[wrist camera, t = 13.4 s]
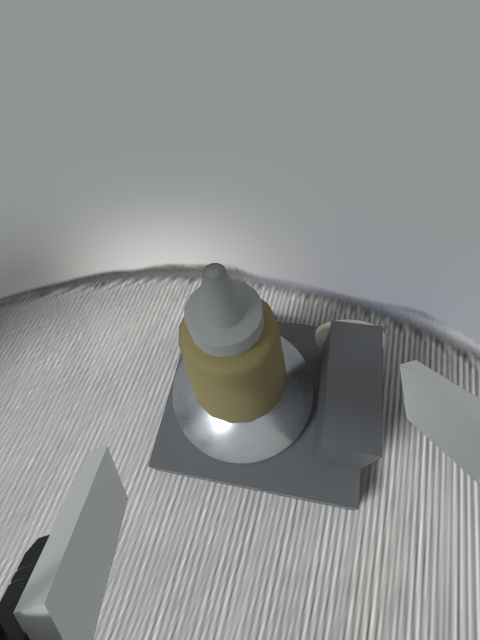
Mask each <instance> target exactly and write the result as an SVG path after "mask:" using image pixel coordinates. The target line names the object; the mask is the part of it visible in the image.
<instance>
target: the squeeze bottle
mask: <svg viewBox="0 0 480 640" xmlns="http://www.w3.org/2000/svg"><path fill="white" fill-rule="evenodd" d="M179 346H180V350H181V353H182V357H183V360H184V364H185V367H186V370H187V374H188V377H189V381H190V384H191V387H192V390H193V392H194V395H195V397H196V400H197V402H198V404H199V405H200V406H201V407H202V408H203V409H204V410H205V411H206V412H207V413H208V414H210V415H211V416H212V417H214V418H217V419H219V420H222V421H225V422H228V423H246V422H252V421H254V420H256V419H258V418H260V417H262V416H264V415H266V414H268V413H269V412H270V411H271V410H272V409H273V408H274V407H275V405H276V404H277V403H278V402H279V401H280V400H281V398H282V395H283V392H284V389H285V386H286V382H287V376H286V367H285V360H284V354H283V349H282V344H281V338H280V333H279V328H278V322H277V318H276V316H275V315H274V313H273V311H272V310H271V308H270V307H269V305H268V304H267V303H266V302H265V301H263V300H262V299H260V297H259V295H258V294H257V292H256V290H255V289H253V288H252V287H251V286H249V285H248V284H246V283H245V282H243V281H239V280H235V279H231V278H230V276H229V274H228V273H227V271H226V269H225V267H224V266H223V265H221V264H218V263H212V264H209V265H207V266H206V267H205V268H204V270H203V273H202V285H201V286H200V287H199V288H198V289H197V290H196V291H195V292H194V293H192V294H191V296H190V298H189V300H188V302H187V304H186V306H185V312H184V318H183V320H182V322H181V324H180V326H179Z"/></svg>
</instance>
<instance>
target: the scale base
mask: <svg viewBox="0 0 480 640" xmlns="http://www.w3.org/2000/svg"><path fill="white" fill-rule="evenodd" d="M278 328H279V333H280V336H282V337H283V338H285V339H286V340H287V341H289V342H290V343H291V344H292V345H293V346H294V347H295V348H296V349H297V350H298V351H299V353H300V354H301V355H302V357H303V358H304V360H305V362H306V364H307V366H308V369H309V371H310V374H311V378H312V384H313V402H312V408H311V411H310V415H309V418H308V421H307V423H306V425H305V427H304V429H303V430H302V432H301V434H300V435H299V437H298V438H297V439H296V440H295V441H294V442H293V443H292V444H291V445H290V446H289V447H288V448H287V449H286V450H284V451H283V452H281V453H280V454H278V455H277V456H275V457H273V458H270V459H268V460H265V461H262V462H259V463H253V464H230V463H226V462H222V461H219V460H216V459H214V458H212V457H210V456H208V455H207V454H205V453H203V452H202V451H201V450H199V449H198V448H197V447H196V446H195V445H194V444H193V443H192V442H191V441H190V440H189V439H188V438H187V437H186V435H185V434H184V432H183V431H182V429H181V427H180V425H179V423H178V421H177V418H176V415H175V412H174V407H173V396H172V394H173V385H174V380H175V376H176V373H177V371H178V368H179V366H180V364H181V362H182V361H183V357H182V353H181V355H180V358H179V362H178V365H177V369H176V372H175V376H174V379H173V382H172V386H171V389H170V393H169V396H168V400H167V403H166V407H165V410H164V414H163V417H162V421H161V424H160V427H159V431H158V434H157V438H156V441H155V445H154V448H153V452H152V455H151V459H150V462H149V467H151V468H153V469H156V470H158V471H163V472H168V473H173V474H178V475H183V476H188V477H193V478H197V479H202V480H207V481H212V482H217V483H222V484H227V485H232V486H236V487H241V488H246V489H251V490H256V491H261V492H266V493H271V494H276V495H280V496H285V497H290V498H295V499H300V500H305V501H310V502H315V503H319V504H324V505H329V506H334V507H339V508H344V509H349V510H357V509H359V491H360V469H362V468H364V467H366V466H367V465H369V464H371V463H373V462H374V461H376V460H378V459H380V458H381V457H382V374H383V347H384V346H385V333H384V332H383V327H382V326H376V325H374V324H371V323H368V322H364V321H360V320H351V319H342V320H332V321H329V322H326V323H324V324H322V325H320V326H319V327H314V326H307V325H299V324H291V323H283V322H278Z"/></svg>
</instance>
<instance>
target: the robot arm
mask: <svg viewBox="0 0 480 640" xmlns="http://www.w3.org/2000/svg"><path fill="white" fill-rule="evenodd" d="M400 372H401V380H402V388H403V396H404V404H405V412H406V418H407V419H408V420H409V421H410V422H411V423H412V424H413V425H414V426H416V427H417V428H418V429H419V430H420V431H421V432H422V433H423V434H424V435H425V436H427V437H428V438H429V439H430V440H431V441H432V442H433V443H434V444H435V445H436V446H438V447H439V448H440V449H441V450H442V451H443V452H444V453H445V454H446V455H447V456H449V457H450V458H451V459H452V460H453V461H454V462H455V463H456V464H457V465H458V466H460V467H461V468H462V469H463V470H464V471H465V472H466V473H467V474H468V475H469V476H471V477H472V478H473V479H474V480H475V481H476V482H477V483H478V484H479V485H480V399H479V398H478V397H476V396H474V395H473V394H471V393H470V392H468V391H466V390H465V389H463V388H461V387H460V386H458V385H456V384H455V383H453V382H451V381H450V380H448V379H446V378H445V377H443V376H442V375H440V374H438V373H437V372H435V371H433V370H432V369H430V368H428V367H427V366H425V365H423V364H422V363H420V362H418V361H417V360H414V361H410V362H407V363H403V364H400ZM127 500H128V497H127V495H126V492H125V490H124V487H123V485H122V482H121V480H120V477H119V475H118V472H117V470H116V467H115V464H114V462H113V459H112V457H111V454H110V452H109V449H108V447H107V446H106V447H102V448H99V449H95V450H92V451H89V453H88V455H87V457H86V459H85V461H84V464H83V466H82V468H81V470H80V472H79V474H78V476H77V478H76V481H75V483H74V485H73V487H72V489H71V491H70V493H69V495H68V498H67V500H66V502H65V504H64V506H63V508H62V510H61V512H60V515H59V517H58V519H57V521H56V523H55V525H54V527H53V529H52V532H51V534H50V535H48V536H44V537H41V538H38V539H37V540H36V542H35V543H34V544H33V545H32V546H31V547H30V549H29V550H28V551H27V552H26V553H25V555H24V557H23V559H22V561H21V563H20V565H19V567H18V571H17V572H15V574H14V576H13V578H12V580H11V584H10V585H9V586H8V588H7V590H6V592H5V594H4V596H3V598H2V599H1V601H0V640H93V638H94V634H95V630H96V625H97V621H98V617H99V613H100V609H101V605H102V601H103V597H104V593H105V589H106V585H107V581H108V577H109V573H110V569H111V565H112V561H113V557H114V553H115V549H116V545H117V541H118V536H119V532H120V528H121V524H122V520H123V516H124V512H125V508H126V504H127Z"/></svg>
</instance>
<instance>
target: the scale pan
mask: <svg viewBox="0 0 480 640" xmlns="http://www.w3.org/2000/svg"><path fill="white" fill-rule="evenodd" d="M280 338H281V344H282V349H283V354H284V360H285V367H286V376H287V382H286V386H285V389H284V392H283V395H282V398H281V400H280V401H279V402H278V403H277V404H276V405H275V407H274V408H273V409H272V410H271V411H270V412H269V413H268V414H266V415H264V416H262V417H260V418H258V419H256V420H254V421H252V422H246V423H228V422H225V421H222V420H219V419H217V418H214V417H212V416H211V415H210V414H208V413H207V412H206V411H205V410H204V409H203V408H202V407H201V406H200V405H199V404H198V402H197V400H196V397H195V395H194V392H193V390H192V387H191V384H190V381H189V377H188V374H187V370H186V367H185V364H184V360H183V361H182V362H181V364H180V366H179V368H178V371H177V373H176V376H175V380H174V385H173V394H172V396H173V407H174V412H175V415H176V418H177V421H178V423H179V425H180V427H181V429H182V431H183V432H184V434H185V435H186V437H187V438H188V439H189V440H190V441H191V442H192V443H193V444H194V445H195V446H196V447H197V448H198V449H199V450H201V451H202V452H203V453H205V454H207V455H208V456H210V457H212V458H214V459H216V460H219V461H222V462H226V463H230V464H253V463H259V462H262V461H265V460H268V459H270V458H273V457H275V456H277V455H278V454H280V453H281V452H283V451H284V450H286V449H287V448H288V447H289V446H290V445H291V444H292V443H293V442H294V441H295V440H296V439H297V438H298V437H299V435H300V434H301V432H302V430H303V429H304V427H305V425H306V423H307V421H308V418H309V415H310V411H311V408H312V402H313V384H312V378H311V374H310V371H309V369H308V366H307V364H306V362H305V360H304V358H303V357H302V355H301V354H300V353H299V351H298V350H297V349H296V348H295V347H294V346H293V345H292V344H291V343H290V342H289V341H287V340H286V339H285V338H283V337H282V336H280Z"/></svg>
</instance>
